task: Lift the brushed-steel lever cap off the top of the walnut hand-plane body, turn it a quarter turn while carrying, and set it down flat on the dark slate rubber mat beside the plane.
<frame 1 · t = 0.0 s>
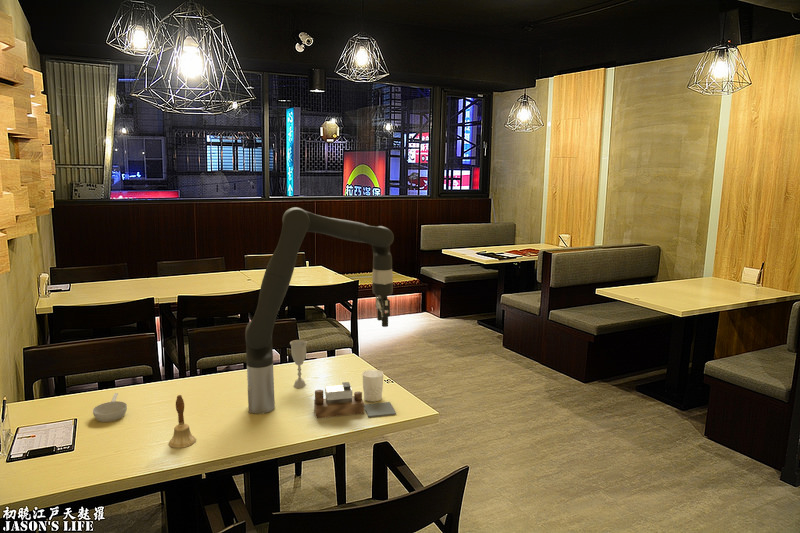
hand: (382, 323, 217), 29 cm above the table, tool pointing down, fingers open, 8 cm apart
hand bell: (182, 442, 187), on the table
slate mat: (379, 410, 211), on the table
chalice: (299, 385, 233), on the table
white cup: (373, 398, 221), on the table
lever cap: (338, 396, 208), point 6 cm above the table, touching plane body
pan: (112, 413, 208), on the table
plane body: (339, 411, 209), on the table
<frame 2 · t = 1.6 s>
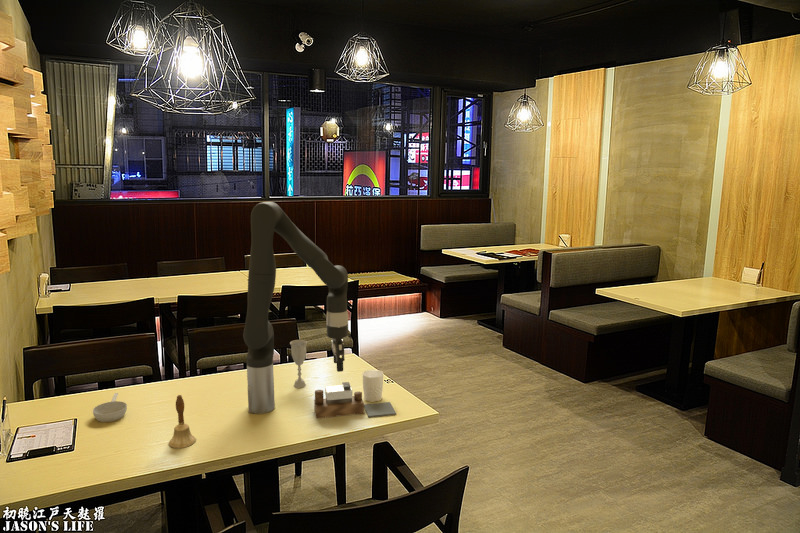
hand: (338, 367, 206), 17 cm above the table, tool pointing down, fingers open, 8 cm apart
nothing on the table moved.
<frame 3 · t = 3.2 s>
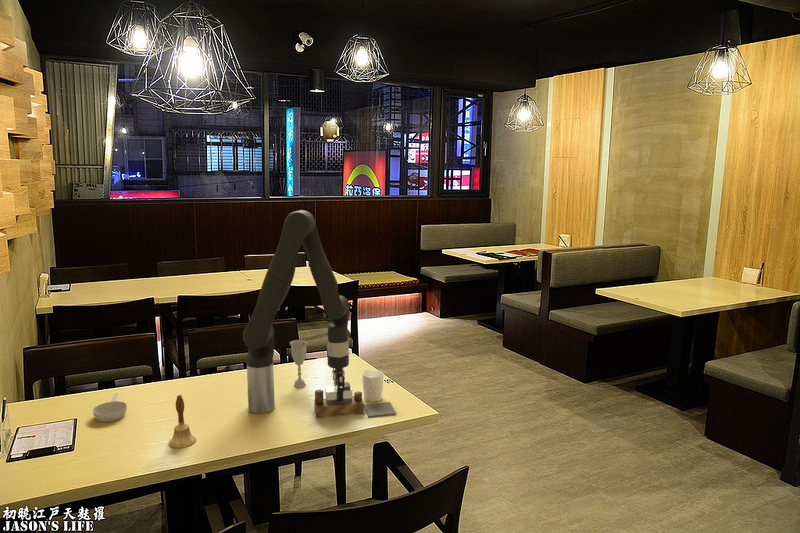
hand: (338, 397, 208), 6 cm above the table, tool pointing down, fingers closed on lever cap, 5 cm apart
lever cap: (338, 396, 208), point 6 cm above the table, touching gripper, plane body
everything else where it was.
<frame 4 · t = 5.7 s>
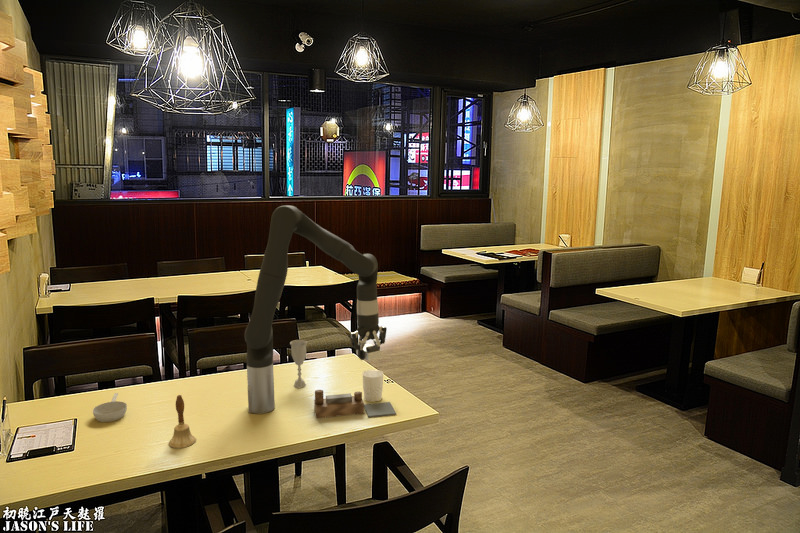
hand: (369, 357, 206), 20 cm above the table, tool pointing down, fingers closed on lever cap, 5 cm apart
lever cap: (369, 356, 206), point 21 cm above the table, touching gripper
everything else where it was.
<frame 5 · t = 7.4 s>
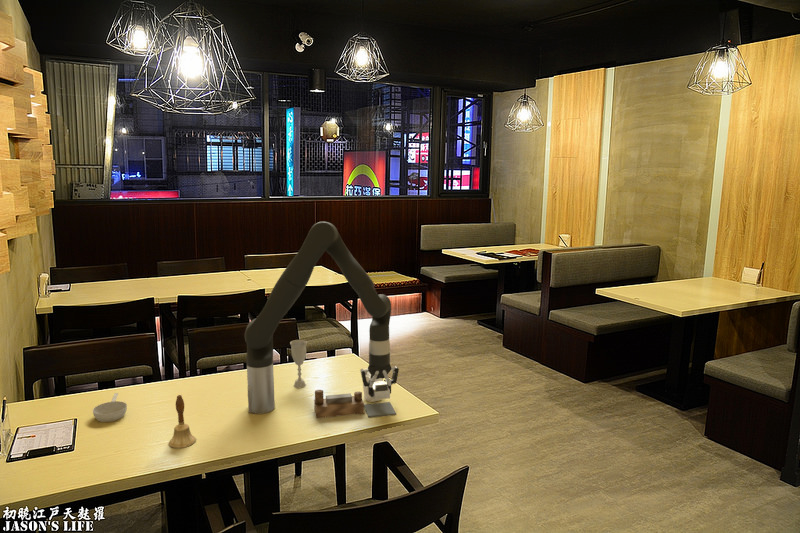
hand: (379, 395, 210), 6 cm above the table, tool pointing down, fingers closed on lever cap, 5 cm apart
lever cap: (379, 394, 210), point 6 cm above the table, touching gripper
everything else where it was.
when the fingers open (2 cm above the table, at t = 8.7 s): lever cap drops 2 cm, resting on slate mat.
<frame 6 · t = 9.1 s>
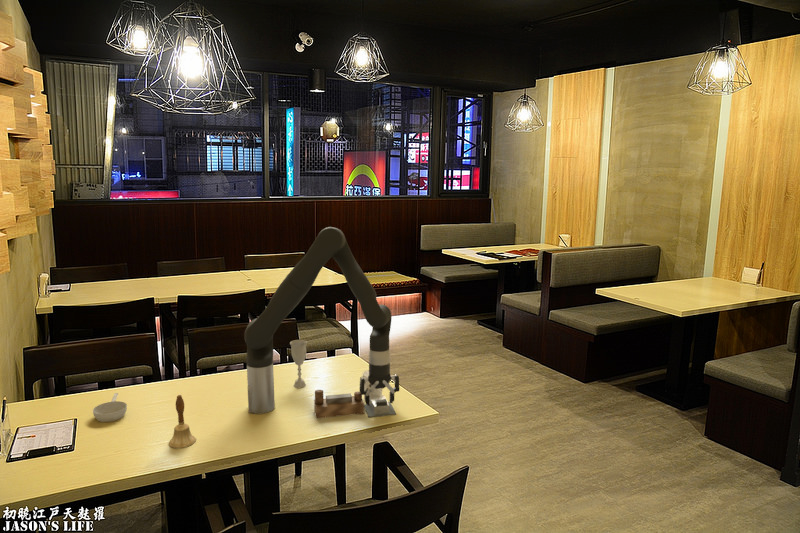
hand: (379, 403, 210), 3 cm above the table, tool pointing down, fingers open, 8 cm apart
lever cap: (379, 408, 211), point 1 cm above the table, touching slate mat
everything else where it was.
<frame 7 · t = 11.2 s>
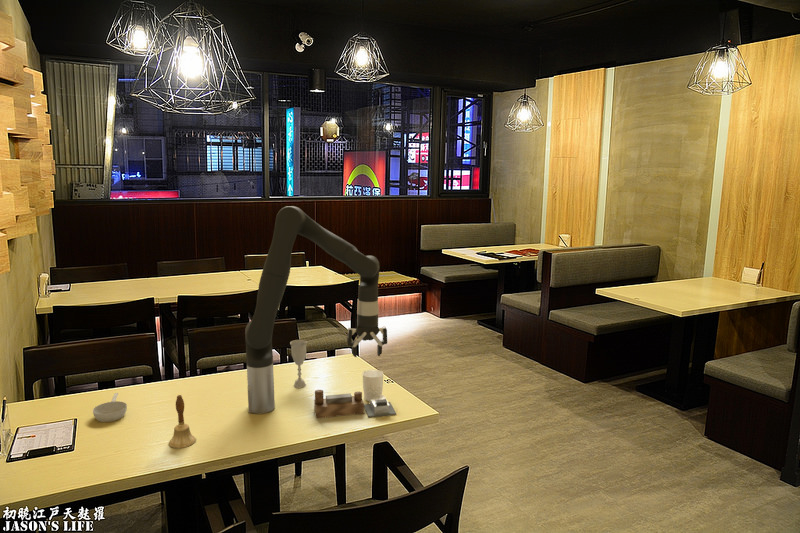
hand: (366, 355, 209), 20 cm above the table, tool pointing down, fingers open, 8 cm apart
nothing on the table moved.
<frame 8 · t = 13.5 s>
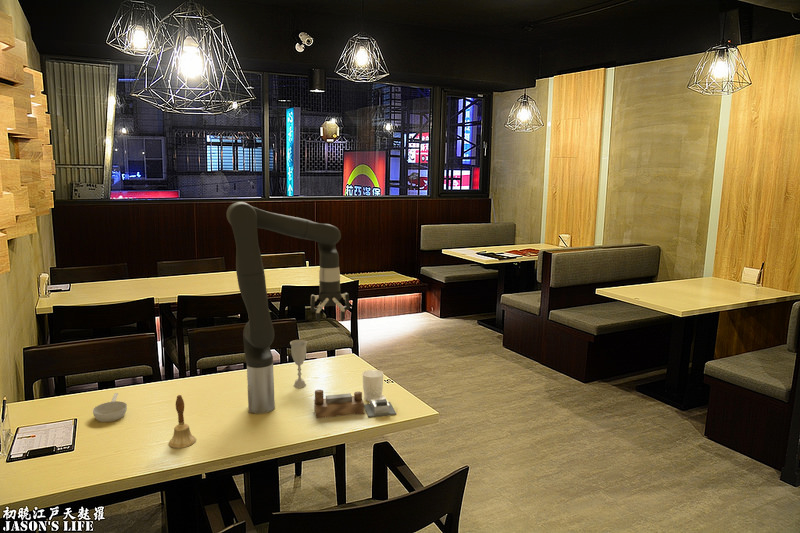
hand: (330, 321, 216), 30 cm above the table, tool pointing down, fingers open, 8 cm apart
nothing on the table moved.
at the end: lever cap inside the target area (0.1 cm from its centre), point 0.6 cm above the table; lever cap tilted 0°; the gripper is holding nothing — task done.
